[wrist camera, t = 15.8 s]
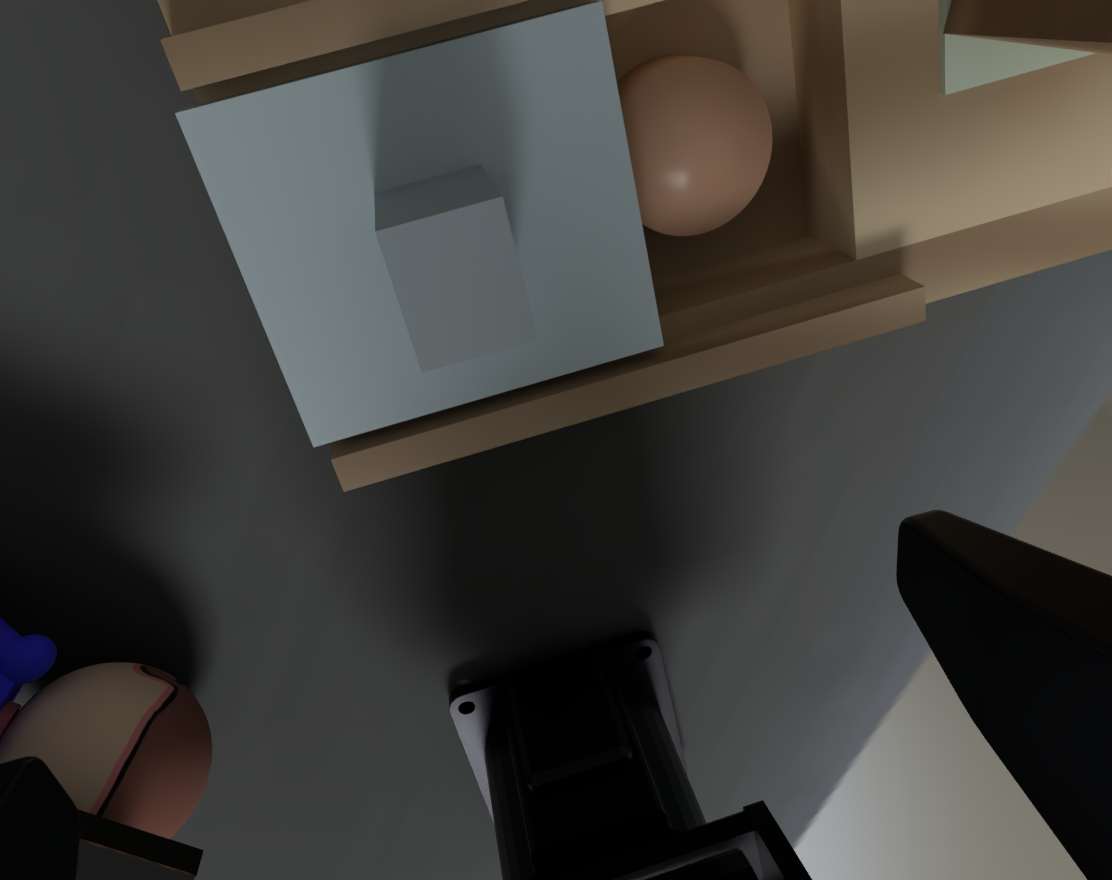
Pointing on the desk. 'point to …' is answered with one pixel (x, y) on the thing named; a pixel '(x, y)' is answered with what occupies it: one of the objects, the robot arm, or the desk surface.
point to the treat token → (693, 141)
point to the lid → (435, 220)
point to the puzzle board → (783, 197)
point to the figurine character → (111, 755)
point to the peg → (1036, 22)
